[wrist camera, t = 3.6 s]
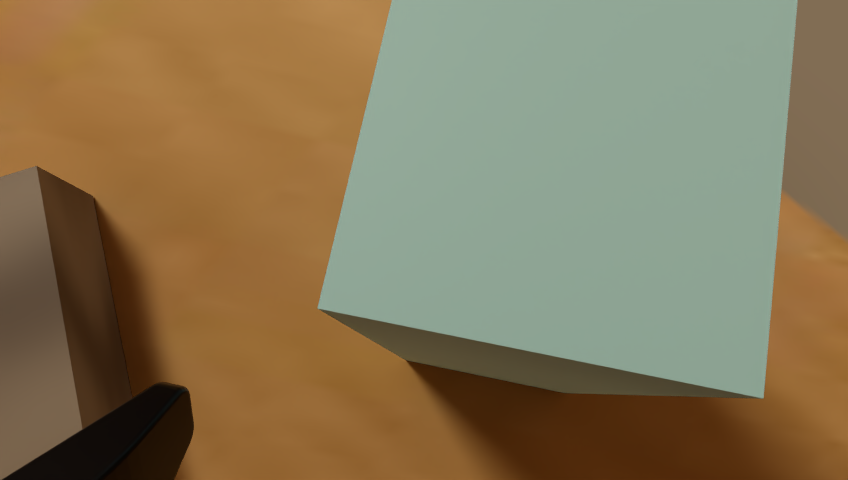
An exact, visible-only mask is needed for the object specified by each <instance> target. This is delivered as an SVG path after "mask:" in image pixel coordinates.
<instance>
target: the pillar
mask: <svg viewBox="0 0 848 480" xmlns="http://www.w3.org/2000/svg"><path fill="white" fill-rule="evenodd" d="M796 11H797V0H392V3H391V7H390V11H389V15H388V19H387V23H386V28H385V32H384V36H383V40H382V44H381V48H380V52H379V56H378V61H377V65H376V69H375V73H374V77H373V81H372V85H371V90H370V94H369V98H368V102H367V106H366V110H365V114H364V118H363V123H362V127H361V131H360V135H359V139H358V143H357V147H356V152H355V156H354V160H353V164H352V168H351V172H350V176H349V180H348V185H347V189H346V193H345V197H344V201H343V205H342V209H341V214H340V218H339V222H338V226H337V230H336V234H335V238H334V242H333V247H332V251H331V255H330V259H329V263H328V267H327V271H326V276H325V280H324V284H323V288H322V292H321V296H320V300H319V304H318V309H319V310H321V311H323V312H324V313H326V314H328V315H330V316H331V317H333V318H335V319H336V320H338V321H340V322H342V323H343V324H345V325H347V326H348V327H350V328H352V329H353V330H355V331H357V332H359V333H360V334H362V335H364V336H365V337H367V338H369V339H370V340H372V341H374V342H376V343H377V344H379V345H381V346H382V347H384V348H386V349H388V350H389V351H391V352H393V353H394V354H396V355H398V356H399V357H401V358H403V359H405V360H407V361H412V362H417V363H422V364H427V365H431V366H436V367H441V368H446V369H451V370H456V371H460V372H465V373H470V374H475V375H480V376H484V377H489V378H494V379H499V380H504V381H509V382H513V383H518V384H523V385H528V386H533V387H538V388H542V389H547V390H552V391H557V392H562V393H577V394H614V395H651V396H688V397H725V398H762V399H763V398H764V386H765V374H766V363H767V351H768V339H769V327H770V316H771V304H772V292H773V281H774V269H775V257H776V246H777V234H778V222H779V210H780V199H781V187H782V175H783V163H784V151H785V140H786V129H787V116H788V105H789V93H790V81H791V70H792V58H793V45H794V35H795V23H796Z"/></svg>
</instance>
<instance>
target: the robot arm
mask: <svg viewBox="0 0 848 480" xmlns="http://www.w3.org/2000/svg"><path fill="white" fill-rule="evenodd" d="M193 430H194V422H193V415H192V407H191V400H190V394H189V391H188V389H187V388H186V387H184V386H180V385H175V384H171V383H166V382H160V383H157V384H154V385H152V386H151V387H149V388H148V389H146V390H144V391H143V392H141V393H140V394H138V395H136V396H135V397H133V398H132V399H130V400H128V401H127V402H125V403H124V404H122V405H120V406H119V407H117V408H116V409H114V410H112V411H111V412H109V413H108V414H106V415H104V416H103V417H101V418H100V419H98V420H96V421H95V422H93V423H92V424H90V425H88V426H87V427H85V428H84V429H82V430H80V431H79V432H77V433H75V434H74V435H72V436H71V437H69V438H67V439H66V440H64V441H63V442H61V443H59V444H58V445H56V446H55V447H53V448H51V449H50V450H48V451H47V452H45V453H43V454H42V455H40V456H39V457H37V458H35V459H34V460H32V461H31V462H29V463H27V464H26V465H24V466H23V467H21V468H19V469H18V470H16V471H15V472H13V473H11V474H10V475H8V476H7V477H5V478H3V479H2V480H174V478H175V476H176V474H177V471H178V469H179V467H180V464H181V462H182V460H183V458H184V455H185V453H186V451H187V448H188V446H189V444H190V441H191V439H192V435H193Z"/></svg>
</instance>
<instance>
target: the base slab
mask: <svg viewBox="0 0 848 480" xmlns="http://www.w3.org/2000/svg"><path fill="white" fill-rule="evenodd" d="M130 399H132V394H131V389H130V384H129V379H128V374H127V368H126V363H125V358H124V353H123V348H122V343H121V338H120V333H119V328H118V322H117V317H116V312H115V307H114V302H113V297H112V292H111V287H110V281H109V276H108V271H107V266H106V261H105V256H104V251H103V246H102V240H101V235H100V230H99V225H98V220H97V215H96V210H95V205H94V200H93V196H92V195H90V194H88V193H86V192H84V191H82V190H81V189H79V188H77V187H75V186H73V185H71V184H69V183H67V182H65V181H64V180H62V179H60V178H58V177H56V176H54V175H52V174H50V173H49V172H47V171H45V170H43V169H41V168H39V167H37V166H35V167H32V168H28V169H25V170H22V171H19V172H16V173H12V174H9V175H6V176H3V177H0V480H2V479H3V478H5V477H7V476H8V475H10V474H11V473H13V472H15V471H16V470H18V469H19V468H21V467H23V466H24V465H26V464H27V463H29V462H31V461H32V460H34V459H35V458H37V457H39V456H40V455H42V454H43V453H45V452H47V451H48V450H50V449H51V448H53V447H55V446H56V445H58V444H59V443H61V442H63V441H64V440H66V439H67V438H69V437H71V436H72V435H74V434H75V433H77V432H79V431H80V430H82V429H84V428H85V427H87V426H88V425H90V424H92V423H93V422H95V421H96V420H98V419H100V418H101V417H103V416H104V415H106V414H108V413H109V412H111V411H112V410H114V409H116V408H117V407H119V406H120V405H122V404H124V403H125V402H127V401H128V400H130Z"/></svg>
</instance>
